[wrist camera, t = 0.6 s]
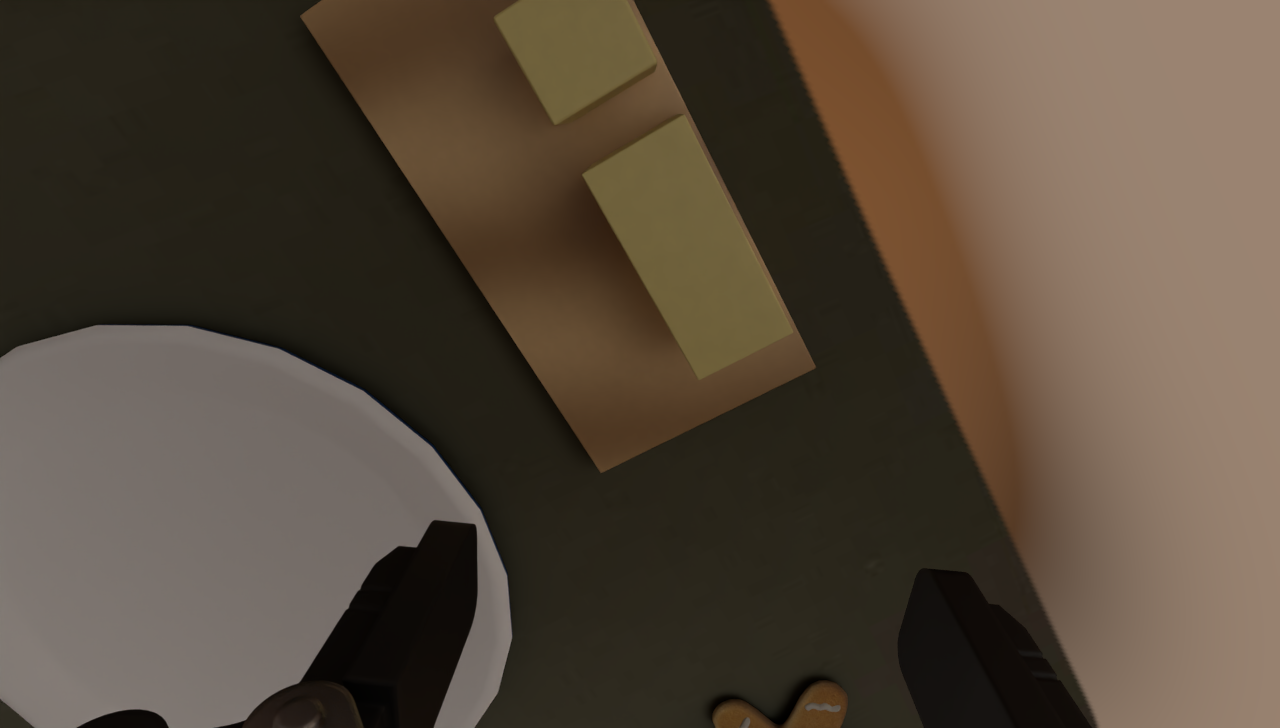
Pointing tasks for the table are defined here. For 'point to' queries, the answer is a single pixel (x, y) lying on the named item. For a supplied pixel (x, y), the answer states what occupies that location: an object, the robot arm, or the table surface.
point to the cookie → (809, 721)
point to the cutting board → (539, 214)
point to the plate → (204, 525)
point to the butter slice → (576, 51)
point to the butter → (687, 246)
